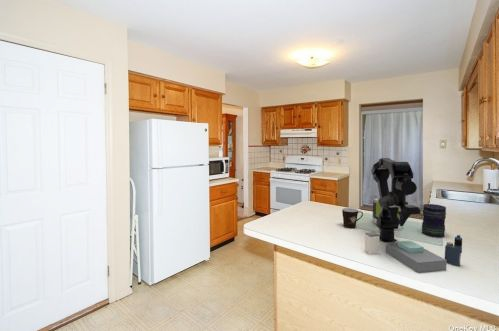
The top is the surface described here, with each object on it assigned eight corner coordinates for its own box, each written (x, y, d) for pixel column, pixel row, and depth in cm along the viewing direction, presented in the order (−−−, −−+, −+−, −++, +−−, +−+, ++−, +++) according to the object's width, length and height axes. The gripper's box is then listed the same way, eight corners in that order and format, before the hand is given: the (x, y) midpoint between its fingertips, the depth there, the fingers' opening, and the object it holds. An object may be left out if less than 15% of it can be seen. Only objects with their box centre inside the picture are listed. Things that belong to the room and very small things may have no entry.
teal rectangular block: (397, 245, 108) (397, 241, 108) (410, 244, 109) (410, 240, 109) (410, 253, 102) (410, 248, 101) (423, 251, 102) (423, 247, 102)
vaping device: (459, 267, 98) (461, 237, 97) (443, 262, 102) (445, 233, 101) (461, 265, 99) (463, 235, 98) (445, 260, 104) (447, 231, 102)
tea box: (402, 230, 138) (403, 204, 137) (384, 230, 138) (385, 204, 137) (388, 221, 153) (389, 197, 152) (371, 222, 153) (372, 198, 152)
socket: (385, 252, 112) (385, 243, 112) (409, 250, 114) (410, 241, 113) (417, 272, 94) (418, 262, 94) (446, 270, 96) (446, 260, 95)
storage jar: (449, 238, 126) (450, 209, 125) (427, 237, 128) (428, 208, 127) (438, 231, 136) (439, 204, 134) (418, 230, 138) (419, 203, 136)
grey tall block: (364, 251, 114) (365, 232, 113) (373, 250, 114) (374, 231, 113) (369, 254, 110) (370, 235, 109) (378, 253, 111) (379, 234, 110)
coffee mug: (342, 228, 143) (342, 211, 142) (341, 223, 151) (341, 207, 150) (364, 230, 139) (364, 212, 138) (362, 225, 148) (362, 208, 147)
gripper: (368, 187, 119) (368, 219, 121) (397, 195, 101) (395, 233, 102) (390, 186, 121) (389, 217, 122) (422, 193, 102) (420, 231, 104)
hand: (397, 224), depth 113 cm, fingers open, 5 cm apart
